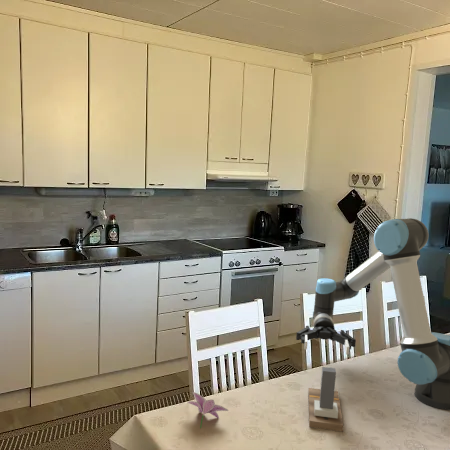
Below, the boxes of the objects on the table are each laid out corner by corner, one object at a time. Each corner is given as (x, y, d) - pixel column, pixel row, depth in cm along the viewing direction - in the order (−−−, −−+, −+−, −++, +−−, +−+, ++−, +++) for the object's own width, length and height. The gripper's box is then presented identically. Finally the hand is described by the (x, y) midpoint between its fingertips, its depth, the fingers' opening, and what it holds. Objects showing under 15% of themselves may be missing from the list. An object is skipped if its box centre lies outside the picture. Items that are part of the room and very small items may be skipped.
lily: (230, 432, 138) (234, 398, 142) (202, 429, 131) (206, 393, 134) (203, 427, 146) (207, 395, 150) (175, 424, 139) (180, 390, 143)
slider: (314, 405, 149) (317, 364, 148) (336, 408, 148) (339, 366, 147) (314, 415, 144) (317, 372, 142) (337, 418, 142) (341, 375, 141)
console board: (308, 393, 163) (308, 387, 162) (337, 396, 161) (337, 391, 161) (309, 426, 141) (309, 420, 141) (342, 431, 140) (343, 425, 139)
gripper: (356, 340, 173) (364, 363, 152) (289, 332, 177) (287, 354, 156) (359, 320, 172) (366, 342, 151) (291, 313, 176) (289, 332, 155)
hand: (326, 348), depth 154 cm, fingers open, 13 cm apart
